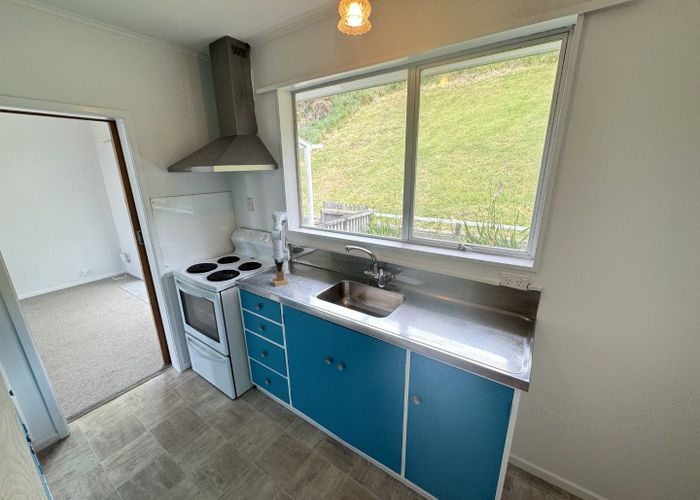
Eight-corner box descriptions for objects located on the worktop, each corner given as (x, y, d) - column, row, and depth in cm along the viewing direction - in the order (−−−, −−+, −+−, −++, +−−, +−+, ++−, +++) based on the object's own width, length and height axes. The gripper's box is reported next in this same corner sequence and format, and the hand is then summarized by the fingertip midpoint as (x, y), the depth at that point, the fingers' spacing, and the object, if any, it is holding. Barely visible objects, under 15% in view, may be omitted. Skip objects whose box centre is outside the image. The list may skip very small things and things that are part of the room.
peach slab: (272, 283, 185) (272, 278, 184) (284, 280, 189) (284, 276, 188) (275, 287, 178) (275, 282, 178) (287, 284, 182) (287, 280, 181)
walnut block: (276, 278, 185) (276, 271, 183) (283, 277, 186) (283, 270, 185) (276, 281, 181) (276, 273, 179) (284, 280, 182) (283, 273, 180)
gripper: (270, 247, 183) (272, 267, 187) (271, 252, 170) (273, 274, 173) (281, 246, 185) (283, 265, 189) (283, 251, 172) (285, 272, 176)
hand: (279, 269), depth 181 cm, fingers open, 7 cm apart
